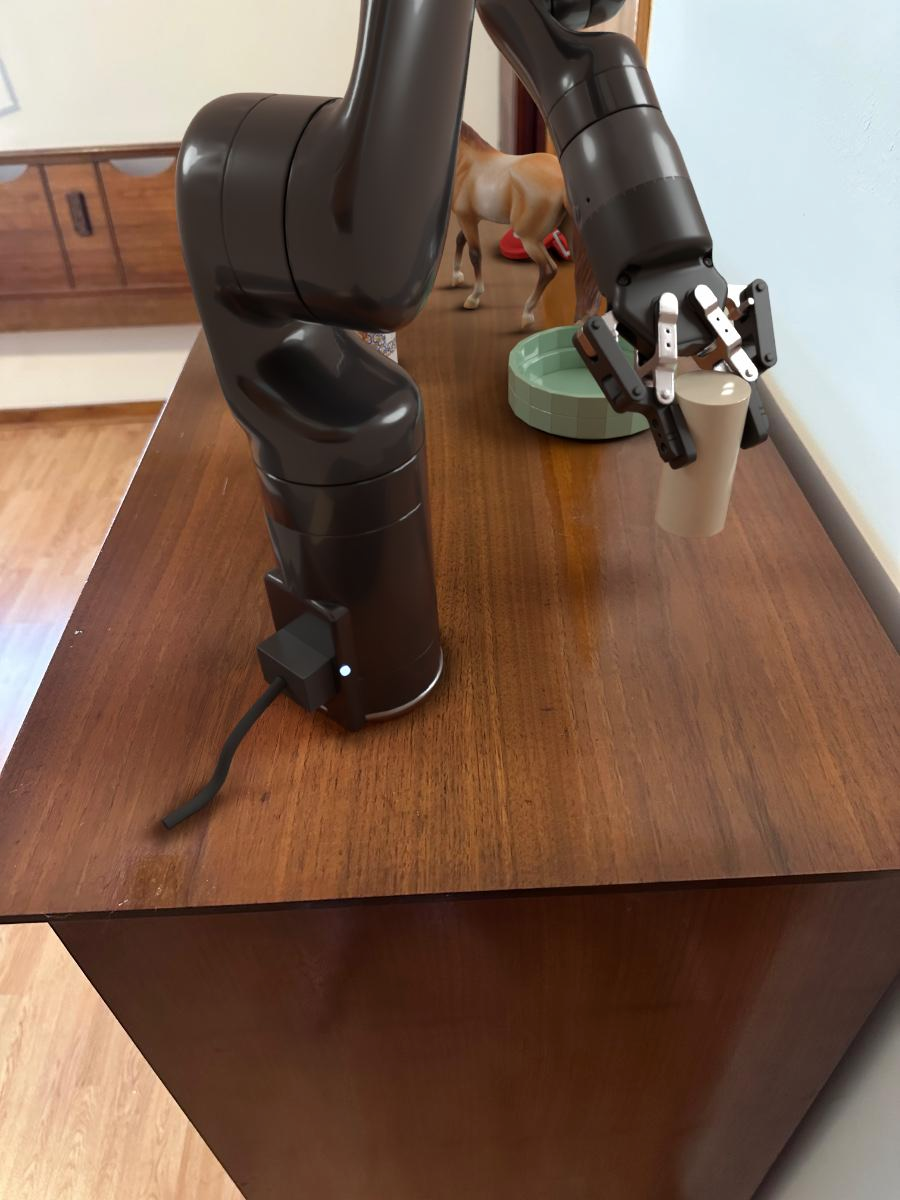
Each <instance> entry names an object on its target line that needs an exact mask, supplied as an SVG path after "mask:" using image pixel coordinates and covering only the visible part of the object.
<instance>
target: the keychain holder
mask: <svg viewBox="0 0 900 1200" xmlns="http://www.w3.org/2000/svg"><path fill="white" fill-rule="evenodd" d="M543 243H544V246H545V248H546V250H547V251H548V249H550V248H551V247H552V249H554V250H555V251H556V253H557V254H558V255H559V256H560V257H561V258H562V259H564V260H567V261H568V260H571V259H572V257H571V255H570V252H569V248H568V245H567V242H566V239H565V237H564V236H563V235H562V234H561V233H560V232H559V231H558V230H557V229H555V230H554V231H553V232H552V233H551V234H549V235H548V236H547V237H546V238H545V239H544V240H543ZM499 247H500V252H501V254H502V255H503V256H504V257H505V258H508V259H512V260H522V259H527V258H531V257H530V256H529V255H528V254H527V252H526V251H525V249H524V246H523V244H522V242H521V240H520V238H519V237H518V236H517V235H516V234H515V232H514V230H513V228H512V227H511V228H510V229H509V230H508V231H507V232H506V233H505V234H504V235H503V236H502V237H501V238H500V240H499Z"/></svg>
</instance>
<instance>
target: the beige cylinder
mask: <svg viewBox="0 0 900 1200" xmlns="http://www.w3.org/2000/svg"><path fill="white" fill-rule="evenodd" d="M750 395H751V387H750V385H749V384H748V383H747V382H746V381H745V380H744V379H742V378H741V377H739V376H736V375H734V374H731V373H727V372H723V371H717V370H702V369H697V370H690V371H686V372H684V373H681V374H679V375H677V376H676V378H675V379H674V400H673V402H672V403H673V405H674V404H678V403H679V405H680V408H681V410H682V412H683V415H684V418H685V421H686V424H687V427H688V430H689V432H690V435H691V438H692V441H693V444H694V447H695V450H696V453H697V459H696V461H695V462H693V463H691V464H689V465H688V466H686V467H683V468H680V469H676V470H673V469H672V468H671V467H670V465H669V462H667V463H665V462H664V461H663V460H662V459H661V465H660V472H659V479H658V480H659V481H658V487H657V496H656V502H655V503H656V505H655V510H654V520H655V522H656V524H657V525H658V527H660V528H661V529H662V530H663V531H665V532H666V533H667V534H670V535H672V536H676V537H678V538H682V539H690V540H701V539H708V538H711V537H713V536H716V535H718V534H719V533H721V532H722V531H723V530H724V528H725V526H726V523H727V518H728V513H729V507H730V503H731V497H732V493H733V488H734V481H735V476H736V471H737V468H738V462H739V457H740V452H741V448H740V447H741V441H742V436H743V431H744V426H745V421H746V416H747V410H748V405H749V400H750Z"/></svg>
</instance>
